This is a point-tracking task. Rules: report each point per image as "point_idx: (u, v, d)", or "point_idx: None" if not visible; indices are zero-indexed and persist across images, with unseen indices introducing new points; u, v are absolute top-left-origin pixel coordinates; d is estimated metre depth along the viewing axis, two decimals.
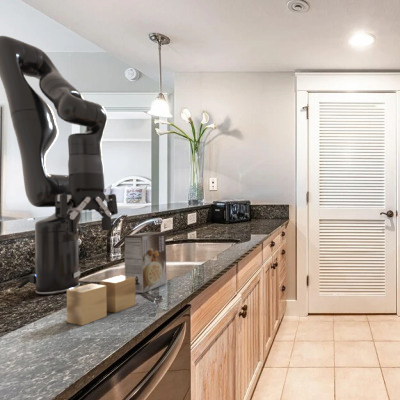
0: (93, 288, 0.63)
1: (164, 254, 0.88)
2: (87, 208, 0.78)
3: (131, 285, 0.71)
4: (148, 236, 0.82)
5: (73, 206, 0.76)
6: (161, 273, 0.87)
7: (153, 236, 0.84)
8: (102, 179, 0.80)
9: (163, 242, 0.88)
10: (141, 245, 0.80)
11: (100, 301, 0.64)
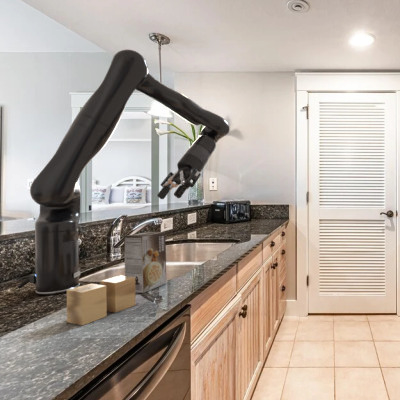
0: (93, 288, 0.63)
1: (164, 254, 0.88)
2: None
3: (131, 285, 0.71)
4: (148, 236, 0.82)
5: None
6: (161, 273, 0.87)
7: (153, 236, 0.84)
8: None
9: (163, 242, 0.88)
10: (141, 245, 0.80)
11: (100, 301, 0.64)
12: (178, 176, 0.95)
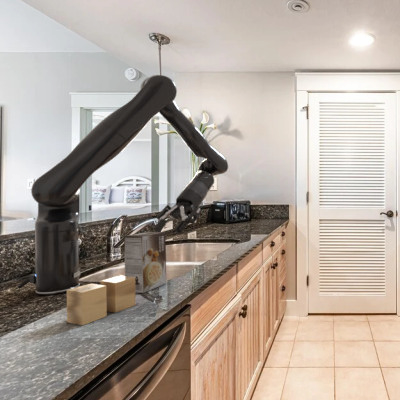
0: (93, 288, 0.63)
1: (164, 254, 0.88)
2: None
3: (131, 285, 0.71)
4: (148, 236, 0.82)
5: None
6: (161, 273, 0.87)
7: (153, 236, 0.84)
8: None
9: (163, 242, 0.88)
10: (141, 245, 0.80)
11: (100, 301, 0.64)
12: (177, 211, 0.97)
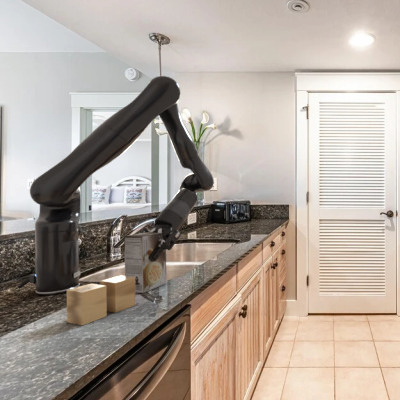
0: (93, 288, 0.63)
1: (164, 254, 0.88)
2: None
3: (131, 285, 0.71)
4: (148, 236, 0.82)
5: None
6: (161, 273, 0.87)
7: (153, 236, 0.84)
8: None
9: None
10: (141, 245, 0.80)
11: (100, 301, 0.64)
12: None
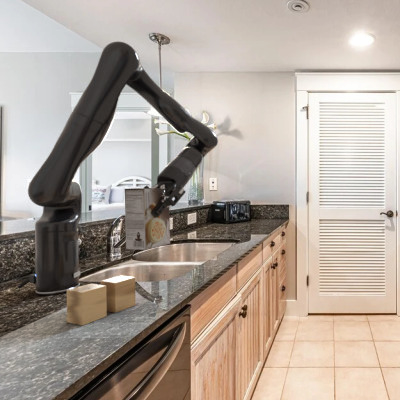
0: (93, 288, 0.63)
1: (167, 212, 0.82)
2: None
3: (131, 285, 0.71)
4: (150, 189, 0.76)
5: None
6: (164, 231, 0.81)
7: (156, 190, 0.78)
8: None
9: None
10: (143, 198, 0.74)
11: (100, 301, 0.64)
12: None
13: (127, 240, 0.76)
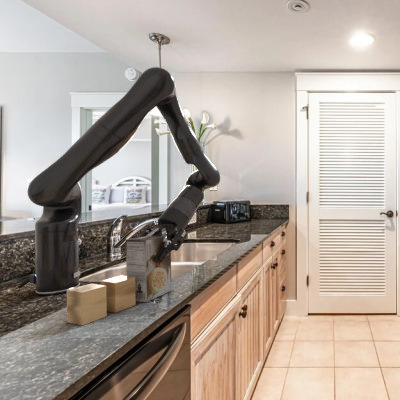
0: (93, 288, 0.63)
1: (169, 259, 0.82)
2: None
3: (131, 285, 0.71)
4: (152, 240, 0.76)
5: None
6: (165, 279, 0.80)
7: (157, 240, 0.77)
8: None
9: None
10: (145, 250, 0.74)
11: (100, 301, 0.64)
12: (159, 234, 0.82)
13: None
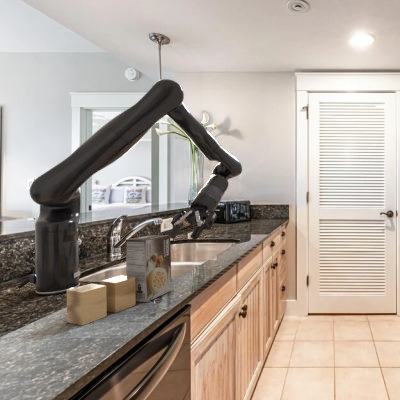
0: (93, 288, 0.63)
1: (169, 259, 0.82)
2: None
3: (131, 285, 0.71)
4: (152, 240, 0.75)
5: None
6: (165, 279, 0.80)
7: (157, 240, 0.77)
8: None
9: (168, 246, 0.81)
10: (145, 250, 0.74)
11: (100, 301, 0.64)
12: (192, 216, 0.94)
13: None
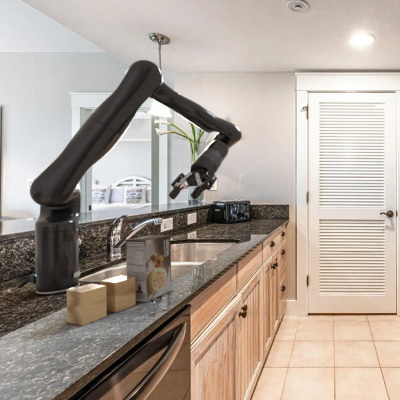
0: (93, 288, 0.63)
1: (169, 259, 0.82)
2: None
3: (131, 285, 0.71)
4: (152, 240, 0.76)
5: None
6: (165, 279, 0.80)
7: (157, 240, 0.77)
8: None
9: (168, 246, 0.81)
10: (145, 250, 0.74)
11: (100, 301, 0.64)
12: (192, 178, 0.94)
13: None
